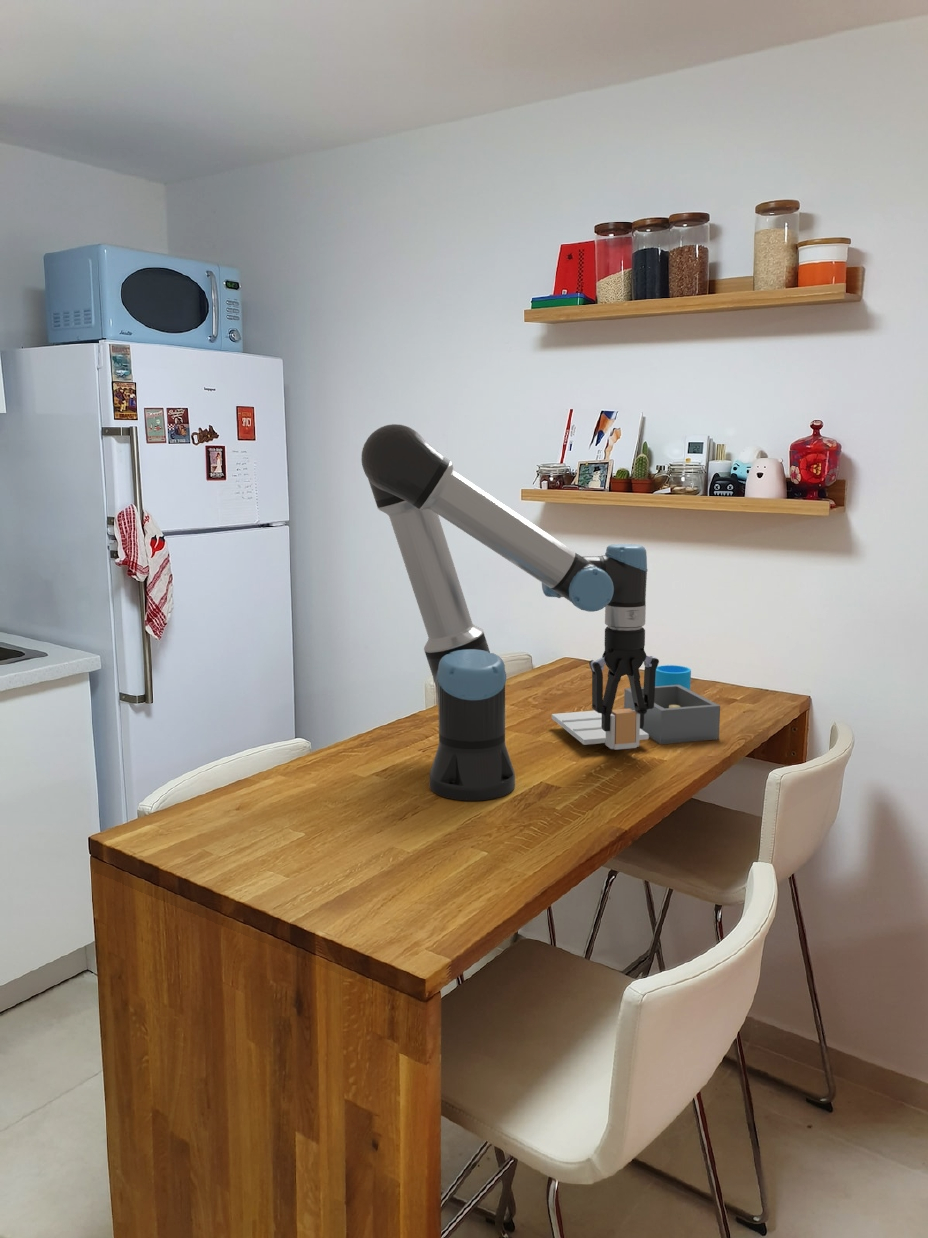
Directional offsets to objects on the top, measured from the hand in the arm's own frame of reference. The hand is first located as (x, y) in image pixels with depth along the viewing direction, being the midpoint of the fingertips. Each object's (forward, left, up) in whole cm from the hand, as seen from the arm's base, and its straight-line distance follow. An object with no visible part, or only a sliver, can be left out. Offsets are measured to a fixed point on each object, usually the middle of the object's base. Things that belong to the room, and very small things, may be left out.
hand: (622, 745), depth 184 cm
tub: (+17, +14, -2) cm, 22 cm away
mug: (+28, +34, -2) cm, 44 cm away
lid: (0, +10, 0) cm, 10 cm away
